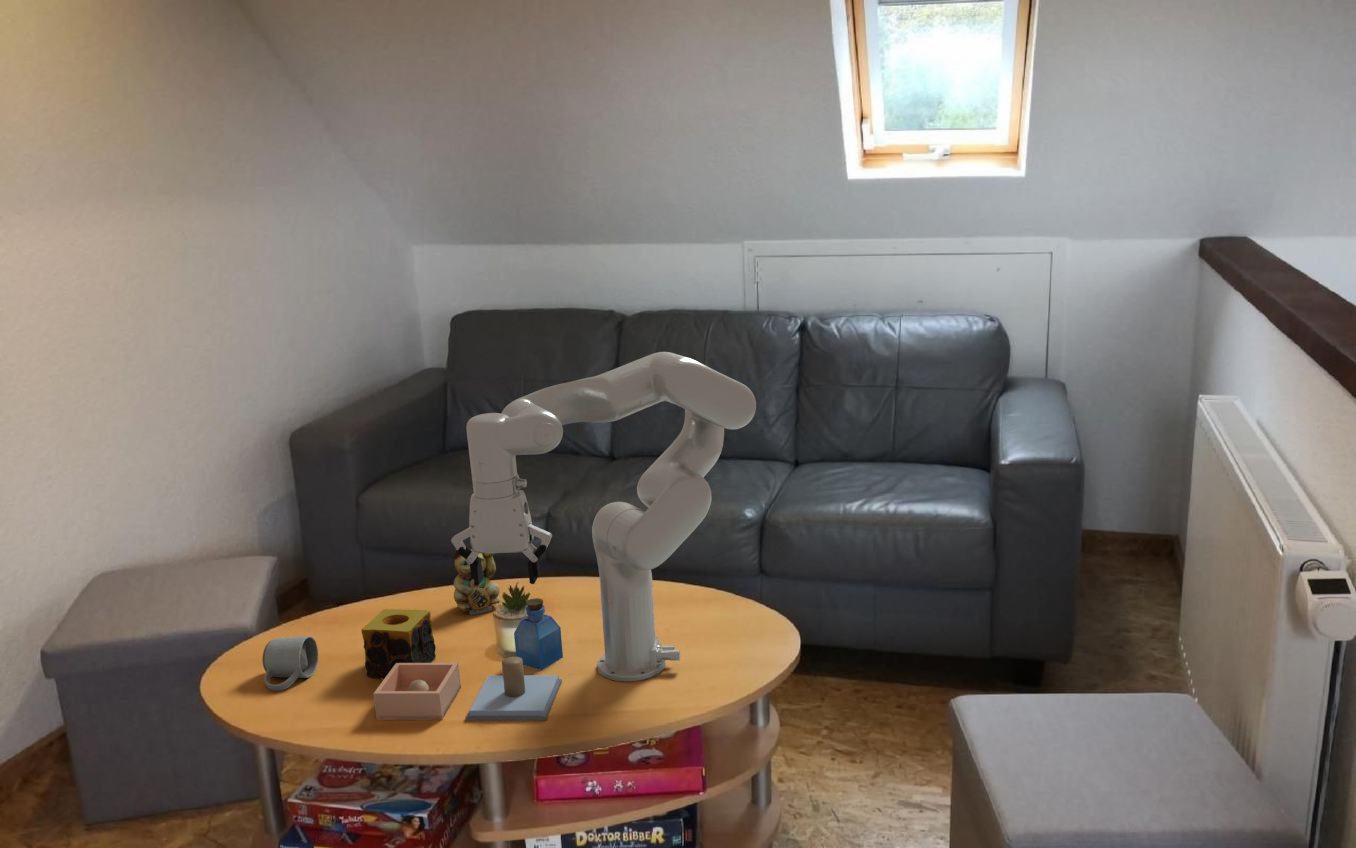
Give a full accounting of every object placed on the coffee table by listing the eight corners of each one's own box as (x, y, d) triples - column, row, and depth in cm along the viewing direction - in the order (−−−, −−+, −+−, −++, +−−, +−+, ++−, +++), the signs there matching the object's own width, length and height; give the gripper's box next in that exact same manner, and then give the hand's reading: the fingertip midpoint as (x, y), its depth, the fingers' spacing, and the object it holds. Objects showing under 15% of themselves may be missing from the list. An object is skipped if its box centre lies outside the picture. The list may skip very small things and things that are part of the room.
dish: (461, 688, 204) (458, 662, 203) (442, 720, 193) (439, 693, 192) (399, 688, 205) (396, 663, 204) (376, 719, 194) (373, 693, 193)
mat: (561, 682, 204) (561, 679, 204) (546, 720, 191) (545, 717, 191) (486, 682, 206) (486, 679, 206) (465, 720, 192) (465, 717, 192)
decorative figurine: (461, 620, 234) (454, 552, 230) (449, 607, 241) (442, 541, 237) (505, 609, 238) (499, 542, 235) (492, 596, 245) (485, 531, 242)
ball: (432, 694, 200) (430, 676, 199) (426, 704, 197) (424, 685, 196) (412, 694, 201) (410, 676, 200) (406, 704, 197) (404, 685, 196)
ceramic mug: (281, 665, 217) (275, 629, 215) (321, 666, 216) (316, 629, 214) (254, 693, 207) (248, 654, 205) (297, 693, 206) (291, 655, 204)
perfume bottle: (562, 657, 214) (558, 598, 211) (541, 670, 209) (536, 610, 206) (538, 650, 218) (533, 593, 215) (516, 663, 213) (511, 604, 210)
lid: (558, 680, 204) (556, 644, 202) (544, 716, 191) (540, 678, 189) (488, 680, 205) (485, 645, 203) (469, 715, 192) (465, 678, 191)
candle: (415, 682, 207) (409, 632, 205) (365, 679, 210) (359, 630, 207) (437, 657, 217) (432, 609, 215) (389, 655, 219) (383, 607, 217)
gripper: (550, 478, 191) (560, 572, 196) (452, 482, 193) (463, 574, 197) (541, 492, 184) (551, 589, 188) (439, 495, 186) (451, 591, 190)
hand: (506, 581), depth 193 cm, fingers open, 9 cm apart
